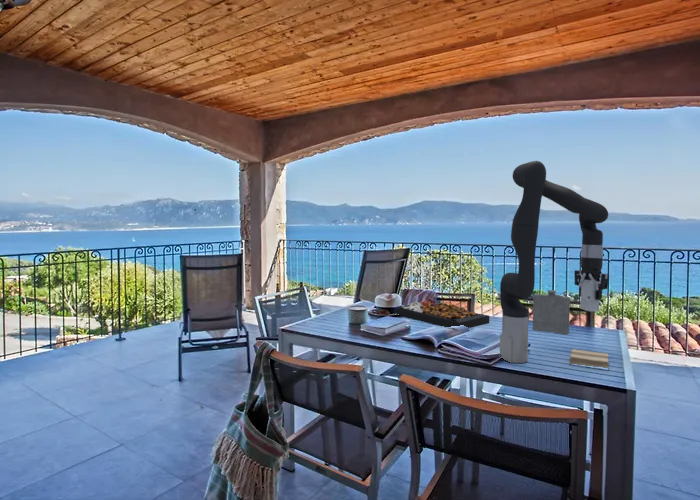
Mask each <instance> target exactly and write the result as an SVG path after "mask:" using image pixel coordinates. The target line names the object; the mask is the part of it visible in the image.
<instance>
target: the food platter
mask: <svg viewBox="0 0 700 500" xmlns="http://www.w3.org/2000/svg"><path fill="white" fill-rule="evenodd" d="M422 300H423V301H421V302H419V301H416V302H411V303H408V304H407V305H404V306H403V305H402V306H400V307H395V309H394V312H396V313H397V314H399V315H400V316H399V317H403V318H407V319H411V320H414V321H419V322H422V323H427V324H431V325H435V326H439V327H442V326H444V327H443V328H446V327H451V326H460V325H464V326H466V327H468V329H470V328H476V327H479V326H485V325H487V324H490V315H487V314H484V313H477V312H475V311H474V310H471V311H469V310H468V309H467V310H466V308H464V306H463V307H462V306H458V305H456V304H450V303H449V304H448V303H446V302H439V303H438V302H437V303H436V300H435V299H434V298H433V296H431V297H427V299H425V298H424V297H422Z"/></svg>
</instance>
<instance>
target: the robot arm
mask: <svg viewBox="0 0 700 500" xmlns="http://www.w3.org/2000/svg"><path fill="white" fill-rule="evenodd" d="M512 180H513V182H514V184H515V185H517V186H518V187H519V188H523V192H522V197H521V202H520V204H519V206H518V207H517V210H516V212H515V214H514V216H513V219H512V222H511V223H512V224H511V230H510V241H511V245H512V247H513V249H514V251H515V253H516V255H517V259H518V271H517V272H507V273H505V274H504V275H503V276H502V277H501V280H500V283H499V284H500V285H499V289H500V290H499V294H500V307H501V310H502V321H501V322H502V325H501V326H502V328H501V330H502V333H501V334H499V355H500V354H501V355H502V358H503V359H504V360H503V359H502V360H503V361H505V360H506V361H505V362H507V361H508V363H509V362H510V364H511V363H512V364H513V363H514V364H524V363H527V362H528V351H529V350H528V349H529V347H528V346H529V313H530V312H529V308H528V307H526V306H525V305H524V304H523V303H522V302H521V300H528V299H529V298H531V297H532V295H533V293H534V291H535V290H534V289H535V283H536V281H535V280H536V277H535V276H536V275H535V271H536V270H535V269H536V268H535V267H536V266H535V264H536V263H535V261H536V249H537V241H538V233H539V224H540V223H539V221H540V214H541V204H542V198H543V197H544V198H547V200H550V201H552V202H554V203H555V204H557V205H558V206H560V207H562V208H564V209H565V210H567V211H568V212H571V213H572V214H578V221H579V226H580V230H581V234H582V238H581V239H582V240H581V250H580V268H581V269H580V270H574V276H573V277H574V285H575V286H577V287H578V294H579V297H580V298H581V286H582V283H583V281H584V280H591V281H594V282H593V285H594V286H595V288H596V293H595V299H596V300H600V301H601V299H602V298H603V290H608V287H609V280H610V275H609V273H602V269H603V264H604V263H603V261H604V260H603V259H604V248H603V242H604V241H603V240H604V233H603V231H602V230H600V229H598V228H597V224H601V223H604V222H606V221H607V219H608V218H609V211H608V210H607V208H606V207H605V205H603V204H600V203H599V202H597V201H594V200H592V199H589V198H587V197H584V196H583V195H581V194H580V193H577V191H575V190H572V189H570V188H568V187H566V186H562V185H560V184H557V183H554V182H551V181H549V180H547V169H546V166H545V164H543V162H541V161H539V160H533V161H529V162H526V163H522V164H520V165H517V166H516V167H515V168H514V170H513V172H512ZM596 281H601V282H596ZM598 284H599V286H598ZM520 299H521V300H520Z"/></svg>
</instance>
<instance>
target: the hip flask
mask: <svg viewBox="0 0 700 500" xmlns="http://www.w3.org/2000/svg"><path fill="white" fill-rule="evenodd" d="M556 293H557V290H552V289H548V290H547V294H541V293H534V294H532V295H533V298H532V299H533V303H532V304H533V305H532V307H533V308H532V331H536V332H544V333H551V332H554V333H553V334H559V335H564V336H568V334H569V335H570V313H571V312H570V311H571V310H570V309H571V306H570V304H571V297H570V296H565V295H562V294H561V295H560V294H556Z"/></svg>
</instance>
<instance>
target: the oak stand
mask: <svg viewBox="0 0 700 500" xmlns="http://www.w3.org/2000/svg"><path fill="white" fill-rule="evenodd" d="M570 364H577V365H585V366H593V367H603V368H608V369H609V353H606V352H600V351H598V352H597V351H592V350H582V349H575V348H572V349H571V352H570V357H569V365H570Z"/></svg>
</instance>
